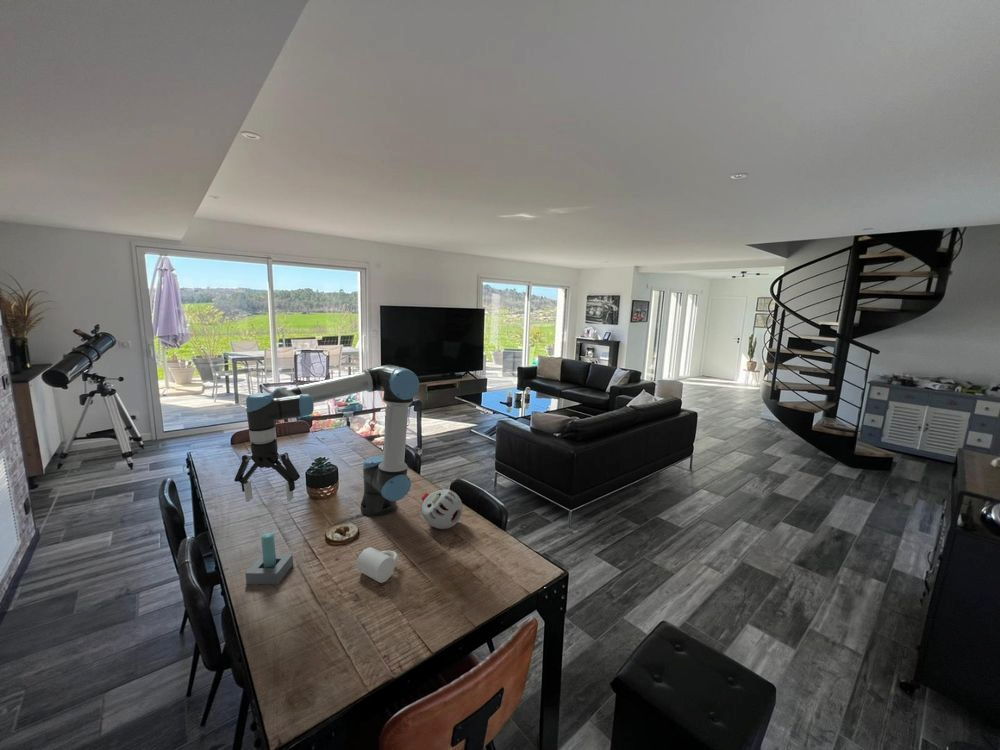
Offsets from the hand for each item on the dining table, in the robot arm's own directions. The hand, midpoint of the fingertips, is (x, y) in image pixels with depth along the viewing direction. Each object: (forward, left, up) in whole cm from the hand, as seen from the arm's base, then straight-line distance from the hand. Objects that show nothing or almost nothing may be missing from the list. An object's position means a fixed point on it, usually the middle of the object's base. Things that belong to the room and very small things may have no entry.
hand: (269, 499), depth 136 cm
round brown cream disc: (-17, -17, -24) cm, 34 cm away
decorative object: (-54, -26, -24) cm, 64 cm away
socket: (-2, +6, -23) cm, 24 cm away
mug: (-38, +4, -24) cm, 45 cm away
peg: (-2, +6, -23) cm, 24 cm away
